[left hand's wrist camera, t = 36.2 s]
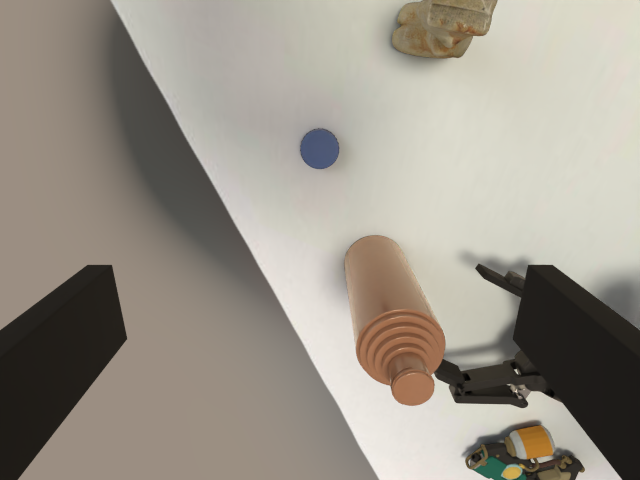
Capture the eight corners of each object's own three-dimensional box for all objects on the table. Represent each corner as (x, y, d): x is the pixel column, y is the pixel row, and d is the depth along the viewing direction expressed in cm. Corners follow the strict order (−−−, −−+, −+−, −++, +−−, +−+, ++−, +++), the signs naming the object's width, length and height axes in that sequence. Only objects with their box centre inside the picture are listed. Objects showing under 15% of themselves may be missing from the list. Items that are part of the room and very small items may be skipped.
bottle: (366, 224, 51) (403, 328, 28) (416, 254, 52) (487, 377, 30) (332, 271, 53) (341, 402, 31) (380, 299, 55) (422, 443, 32)
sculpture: (402, -5, 41) (444, -54, 27) (465, 15, 42) (538, -23, 28) (384, 54, 43) (415, 36, 29) (445, 72, 44) (504, 63, 30)
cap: (296, 161, 48) (296, 163, 46) (306, 123, 46) (306, 125, 44) (332, 170, 48) (333, 173, 46) (343, 134, 47) (344, 136, 45)
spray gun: (581, 463, 66) (500, 497, 70) (542, 406, 61) (456, 446, 64) (597, 488, 63) (511, 522, 66) (557, 429, 57) (465, 470, 60)
